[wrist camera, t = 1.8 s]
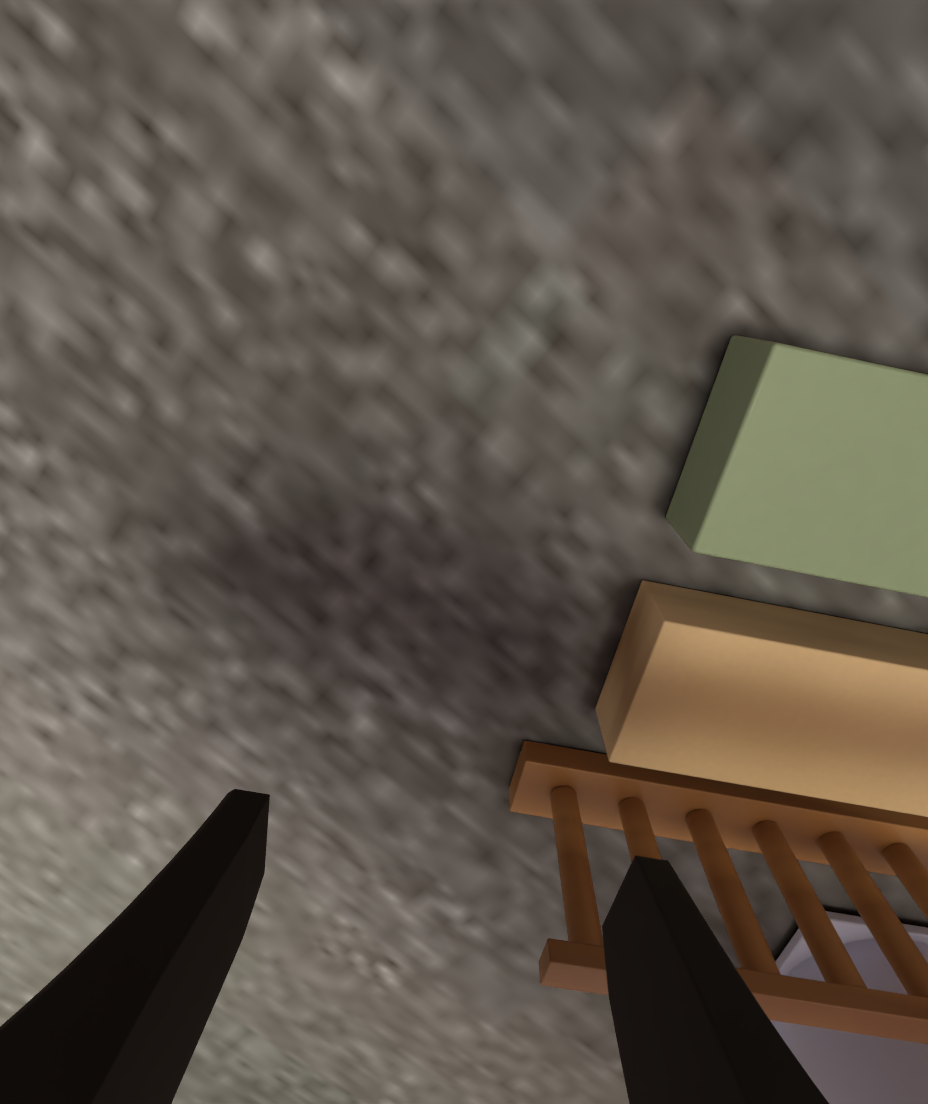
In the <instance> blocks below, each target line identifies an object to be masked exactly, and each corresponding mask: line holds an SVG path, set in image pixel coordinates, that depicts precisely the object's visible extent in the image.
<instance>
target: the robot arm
mask: <svg viewBox="0 0 928 1104" xmlns="http://www.w3.org/2000/svg"><path fill="white" fill-rule="evenodd" d="M269 797H270V795H268V794H262V793H256V792H250V791H244V790H238V789H234V790H232V791H230V792H229V793H228V794H227V795H226V796H225V797H224V799H223V800H222V801H221V803H220V804H219V805H218V806H217V808H216V809H215V810H214V811H213V812H212V814H211V815H210V816H209V817H208V819H207V820H206V821H205V822H204V823H203V825H202V826H201V827H200V828H199V829H198V830H197V832H196V833H195V834H194V835H193V836H192V837H191V839H190V840H189V841H188V842H187V843H186V844H185V845H184V846H183V848H182V849H181V850H180V851H179V852H178V853H177V854H176V855H175V857H174V858H173V859H172V860H171V861H170V862H169V863H168V864H167V865H166V866H165V868H164V869H163V870H162V871H161V872H160V873H159V874H158V875H157V876H156V877H155V878H154V879H153V880H152V881H151V882H150V883H149V885H148V886H147V887H146V888H145V889H144V890H143V891H142V892H141V893H140V894H139V895H138V896H137V897H136V898H135V899H134V900H133V902H132V903H131V904H130V905H129V906H128V907H127V908H126V909H125V910H124V911H123V912H122V913H121V914H120V915H119V916H118V917H117V918H116V919H115V920H114V921H113V922H112V923H111V924H110V925H109V926H108V927H107V928H106V929H105V930H104V931H103V932H102V933H101V934H100V935H99V936H98V937H96V938H95V939H94V940H93V941H92V942H91V943H90V944H89V945H88V946H87V947H86V948H85V949H84V950H83V951H82V952H81V953H80V954H79V955H78V956H77V957H76V958H75V959H74V960H73V961H72V962H71V963H70V964H69V965H68V966H67V967H66V968H65V969H64V970H63V971H61V972H60V973H59V974H58V975H57V976H56V977H55V978H54V979H53V980H52V981H51V982H50V983H48V984H47V985H46V986H45V987H44V988H43V989H42V990H41V991H40V992H39V993H38V994H36V995H35V996H34V997H33V998H32V999H31V1000H30V1001H29V1002H28V1003H27V1004H25V1005H24V1006H23V1007H22V1008H21V1009H20V1010H19V1011H18V1012H16V1013H15V1014H14V1015H13V1016H12V1017H11V1018H10V1019H8V1020H7V1021H6V1022H5V1023H4V1024H3V1025H2V1026H1V1027H0V1104H171V1103H172V1101H173V1098H174V1096H175V1094H176V1091H177V1089H178V1087H179V1085H180V1082H181V1080H182V1078H183V1075H184V1073H185V1071H186V1068H187V1066H188V1064H189V1062H190V1059H191V1057H192V1055H193V1052H194V1050H195V1048H196V1045H197V1043H198V1041H199V1038H200V1036H201V1034H202V1032H203V1029H204V1027H205V1025H206V1022H207V1020H208V1018H209V1015H210V1013H211V1011H212V1009H213V1006H214V1004H215V1002H216V999H217V997H218V995H219V992H220V990H221V988H222V985H223V983H224V981H225V978H226V976H227V974H228V971H229V969H230V967H231V964H232V962H233V960H234V958H235V955H236V953H237V950H238V948H239V946H240V943H241V941H242V939H243V936H244V933H245V930H246V927H247V924H248V921H249V918H250V915H251V912H252V909H253V906H254V903H255V900H256V897H257V894H258V891H259V888H260V885H261V882H262V878H263V875H264V871H265V856H266V842H267V827H268V812H269ZM825 912H826V913H827V915H828V917H829V919H830V921H831V922H832V924H833V926H834V928H835V930H836V932H837V933H838V935H839V937H840V939H841V941H842V943H843V944H844V946H845V948H846V950H847V952H848V953H849V955H850V957H851V959H852V961H853V963H854V964H855V966H856V968H857V970H858V972H859V974H860V975H861V977H862V979H863V981H864V983H865V985H866V986H867V988H868V989H874V990H881V991H887V992H894V993H900V994H906V995H908V994H907V992H906V991H905V989H904V987H903V986H902V984H901V982H900V981H899V979H898V977H897V976H896V974H895V972H894V971H893V969H892V967H891V966H890V964H889V962H888V961H887V959H886V957H885V956H884V954H883V952H882V951H881V949H880V947H879V946H878V944H877V942H876V941H875V939H874V937H873V936H872V934H871V932H870V931H869V929H868V927H867V926H866V924H865V922H864V921H863V919H862V917H859V916H853V915H847V914H841V913H835V912H829V911H825ZM902 925H903V926H904V928H905V929H906V931H907V932H908V934H909V935H910V937H911V939H912V940H913V942H914V943H915V945H916V946H917V948H918V949H919V951H920V952H921V954H922V955H923V957H924V958H925V960H926V961H927V963H928V928H927V927H921V926H914V925H908V924H902ZM602 930H603V942H604V954H605V966H606V976H607V985H608V994H609V1000H610V1005H611V1011H612V1016H613V1021H614V1026H615V1032H616V1037H617V1042H618V1047H619V1053H620V1058H621V1063H622V1068H623V1073H624V1078H625V1083H626V1088H627V1093H628V1098H629V1103H630V1104H928V1044H923V1043H916V1042H909V1041H903V1040H896V1039H890V1038H883V1037H877V1036H870V1035H864V1034H857V1033H851V1032H844V1031H838V1030H831V1029H825V1028H818V1027H812V1026H805V1025H799V1024H792V1023H785V1022H779V1021H772V1020H769V1018H768V1017H767V1015H766V1014H765V1012H764V1011H763V1009H762V1008H761V1006H760V1005H759V1003H758V1002H757V1000H756V999H755V997H754V996H753V994H752V992H751V991H750V989H749V988H748V986H747V985H746V983H745V982H744V980H743V979H742V977H741V976H740V974H739V973H738V971H737V970H736V968H735V967H734V965H733V964H732V962H731V960H730V959H729V957H728V956H727V954H726V953H725V951H724V950H723V948H722V946H721V945H720V943H719V942H718V940H717V938H716V937H715V935H714V934H713V932H712V930H711V929H710V927H709V926H708V924H707V922H706V921H705V919H704V918H703V916H702V914H701V913H700V911H699V910H698V908H697V906H696V905H695V903H694V901H693V900H692V898H691V897H690V895H689V893H688V892H687V890H686V889H685V887H684V885H683V884H682V882H681V881H680V879H679V877H678V876H677V874H676V873H675V871H674V869H673V868H672V866H671V865H670V863H669V862H668V861H667V860H661V859H654V858H648V857H642V856H636V855H635V857H634V859H633V861H632V863H631V865H630V868H629V870H628V872H627V874H626V876H625V878H624V880H623V883H622V885H621V887H620V889H619V891H618V893H617V896H616V898H615V900H614V902H613V904H612V906H611V908H610V911H609V913H608V915H607V917H606V919H605V921H604V924H603V926H602ZM776 964H777V967H778V969H779V971H780V974H781V975H785V976H792V977H798V978H805V979H811V980H817V981H824V982H825V980H824V978H823V976H822V974H821V972H820V970H819V968H818V966H817V964H816V962H815V960H814V958H813V956H812V954H811V952H810V949H809V947H808V945H807V943H806V941H805V939H804V937H803V935H802V933H801V931H800V929H799V928H798V930H797V931H796V933H795V934H794V936H793V937H792V938H791V940H790V941H789V943H788V944H787V946H786V947H785V949H784V950H783V951H782V953H781V954H780V956H779V957H778V959H777V960H776Z"/></svg>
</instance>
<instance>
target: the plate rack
mask: <svg viewBox="0 0 928 1104" xmlns="http://www.w3.org/2000/svg"><path fill="white" fill-rule="evenodd" d="M509 802H510V811H511V812H517V813H523V814H529V815H535V816H541V817H547V818H553V823H554V831H555V839H556V847H557V855H558V862H559V870H560V878H561V886H562V894H563V902H564V909H565V917H566V925H567V933H568V941H563V940H557V939H550V938H549V939H548V940H547V942H546V945H545V947H544V950H543V952H542V955H541V957H540V959H539V971H540V983H541V985H544V986H550V987H557V988H563V989H570V990H577V991H583V992H590V993H596V994H603V995H609V994H608V985H607V976H606V966H605V954H604V943H603V937H602V932H601V926H600V921H599V915H598V910H597V904H596V899H595V893H594V888H593V882H592V876H591V871H590V865H589V860H588V854H587V849H586V843H585V838H584V832H583V827H582V823H583V824H588V825H594V826H600V827H606V828H612V829H618V830H624V833H625V837H626V841H627V845H628V849H629V853H630V857H631V861H633V859H634V857H635V855H636V856H642V857H648V858H654V859H661V856H660V852H659V849H658V846H657V843H656V840H655V836H660V837H666V838H672V839H678V840H684V841H690V842H694V845H695V847H696V850H697V853H698V855H699V858H700V860H701V863H702V866H703V868H704V871H705V874H706V876H707V879H708V882H709V884H710V887H711V890H712V892H713V895H714V898H715V900H716V903H717V905H718V908H719V911H720V913H721V916H722V919H723V921H724V924H725V927H726V929H727V932H728V935H729V937H730V940H731V943H732V945H733V948H734V950H735V953H736V956H737V958H738V961H739V964H740V966H741V968H736V970H737V971H738V973H739V974H740V976H741V977H742V979H743V980H744V982H745V983H746V985H747V986H748V988H749V989H750V991H751V992H752V994H753V996H754V997H755V999H756V1000H757V1002H758V1003H759V1005H760V1006H761V1008H762V1009H763V1011H764V1012H765V1014H766V1015H767V1017H768V1018H769V1020H772V1021H779V1022H785V1023H792V1024H799V1025H805V1026H812V1027H818V1028H825V1029H831V1030H838V1031H844V1032H851V1033H857V1034H864V1035H870V1036H877V1037H883V1038H890V1039H896V1040H903V1041H909V1042H916V1043H923V1044H928V963H927V961H926V960H925V958H924V957H923V955H922V954H921V952H920V951H919V949H918V948H917V946H916V945H915V943H914V942H913V940H912V939H911V937H910V935H909V934H908V932H907V931H906V929H905V928H904V926H903V925H902V923H901V922H900V920H899V919H898V917H897V916H896V914H895V913H894V911H893V910H892V908H891V907H890V905H889V904H888V902H887V901H886V899H885V897H884V896H883V894H882V893H881V891H880V890H879V888H878V887H877V885H876V884H875V882H874V881H873V879H872V878H871V876H870V875H869V873H868V872H867V871H869V872H875V873H881V874H887V875H893V876H897V877H898V878H899V880H900V881H901V883H902V884H903V885H904V887H905V888H906V890H907V891H908V893H909V894H910V895H911V897H912V898H913V900H914V901H915V902H916V904H917V905H918V907H919V908H920V910H921V911H922V912H923V914H924V915H925V917H926V918H927V920H928V817H925V816H919V815H913V814H907V813H902V812H896V811H890V810H884V809H879V808H873V807H867V806H861V805H855V804H850V803H844V802H838V801H832V800H827V799H821V798H815V797H809V796H804V795H798V794H792V793H786V792H780V791H775V790H769V789H763V788H757V787H752V786H746V785H740V784H734V783H729V782H723V781H717V780H711V779H706V778H700V777H694V776H688V775H682V774H677V773H671V772H665V771H659V770H654V769H648V768H642V767H636V766H631V765H625V764H619V763H613V762H610V761H609V760H608V756H607V755H606V754H600V753H594V752H589V751H583V750H577V749H571V748H566V747H560V746H554V745H548V744H543V743H537V742H531V741H524V742H523V745H522V748H521V752H520V755H519V758H518V761H517V765H516V768H515V771H514V774H513V778H512V781H511V784H510V787H509ZM726 848H732V849H738V850H744V851H750V852H755V853H761V854H763V856H764V858H765V860H766V862H767V864H768V866H769V868H770V870H771V872H772V874H773V876H774V878H775V880H776V882H777V884H778V886H779V889H780V891H781V893H782V895H783V897H784V899H785V901H786V903H787V905H788V907H789V909H790V911H791V913H792V915H793V917H794V919H795V921H796V923H797V925H798V927H799V929H800V931H801V933H802V935H803V937H804V939H805V941H806V943H807V945H808V947H809V949H810V952H811V954H812V956H813V958H814V960H815V962H816V964H817V966H818V968H819V970H820V972H821V974H822V976H823V978H824V980H825V982H824V981H817V980H811V979H805V978H798V977H792V976H785V975H781V974H780V971H779V969H778V967H777V964H776V962H775V960H774V958H773V955H772V953H771V951H770V948H769V946H768V944H767V941H766V939H765V937H764V934H763V932H762V930H761V927H760V925H759V923H758V921H757V918H756V916H755V914H754V911H753V909H752V907H751V904H750V902H749V900H748V897H747V895H746V893H745V890H744V888H743V886H742V884H741V881H740V879H739V877H738V874H737V872H736V870H735V867H734V865H733V863H732V860H731V858H730V856H729V853H728V851H727V849H726ZM661 860H662V859H661ZM798 860H803V861H809V862H815V863H821V864H827V865H830V866H831V867H832V869H833V871H834V872H835V874H836V876H837V877H838V879H839V881H840V882H841V884H842V886H843V887H844V889H845V891H846V892H847V894H848V896H849V897H850V899H851V901H852V902H853V904H854V906H855V907H856V909H857V911H858V912H859V914H860V916H861V917H862V919H863V921H864V922H865V924H866V926H867V927H868V929H869V931H870V932H871V934H872V936H873V937H874V939H875V941H876V942H877V944H878V946H879V947H880V949H881V951H882V952H883V954H884V956H885V957H886V959H887V961H888V962H889V964H890V966H891V967H892V969H893V971H894V972H895V974H896V976H897V977H898V979H899V981H900V982H901V984H902V986H903V987H904V989H905V991H906V992H907V994H908V995H906V994H900V993H894V992H887V991H881V990H874V989H868V988H867V986H866V985H865V983H864V981H863V979H862V977H861V975H860V974H859V972H858V970H857V968H856V966H855V964H854V963H853V961H852V959H851V957H850V955H849V953H848V952H847V950H846V948H845V946H844V944H843V943H842V941H841V939H840V937H839V935H838V933H837V932H836V930H835V928H834V926H833V924H832V922H831V921H830V919H829V917H828V915H827V913H826V912H825V910H824V908H823V906H822V904H821V902H820V901H819V899H818V897H817V895H816V893H815V891H814V890H813V888H812V886H811V884H810V882H809V881H808V879H807V877H806V875H805V873H804V871H803V870H802V868H801V866H800V864H799V862H798Z"/></svg>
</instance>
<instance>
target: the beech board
mask: <svg viewBox="0 0 928 1104" xmlns="http://www.w3.org/2000/svg"><path fill="white" fill-rule="evenodd" d="M595 710H596V714H597V718H598V722H599V725H600V729H601V733H602V737H603V741H604V745H605V748H606V752H607V756H608V760H609V761H610V762H613V763H619V764H625V765H631V766H636V767H642V768H648V769H654V770H659V771H665V772H671V773H677V774H682V775H688V776H694V777H700V778H706V779H711V780H717V781H723V782H729V783H734V784H740V785H746V786H752V787H757V788H763V789H769V790H775V791H780V792H786V793H792V794H798V795H804V796H809V797H815V798H821V799H827V800H832V801H838V802H844V803H850V804H855V805H861V806H867V807H873V808H879V809H884V810H890V811H896V812H902V813H907V814H913V815H919V816H925V817H928V634H924V633H918V632H913V631H908V630H902V629H897V628H892V627H887V626H881V625H876V624H871V623H866V622H860V621H855V620H850V619H844V618H839V617H834V616H829V615H823V614H818V613H813V612H808V611H802V610H797V609H792V608H786V607H781V606H776V605H771V604H765V603H760V602H755V601H750V600H744V599H739V598H734V597H728V596H723V595H718V594H713V593H707V592H702V591H697V590H692V589H686V588H681V587H676V586H670V585H665V584H660V583H655V582H649V581H644V580H643V581H642V582H641V585H640V587H639V590H638V593H637V596H636V598H635V601H634V604H633V607H632V609H631V612H630V615H629V618H628V620H627V623H626V626H625V629H624V631H623V634H622V637H621V640H620V642H619V645H618V648H617V651H616V653H615V656H614V659H613V662H612V664H611V667H610V670H609V672H608V675H607V678H606V681H605V683H604V686H603V689H602V692H601V694H600V697H599V700H598V703H597V705H596V708H595Z"/></svg>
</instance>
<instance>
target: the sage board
mask: <svg viewBox="0 0 928 1104" xmlns="http://www.w3.org/2000/svg"><path fill="white" fill-rule="evenodd" d="M666 519H667V520H668V522H669V523H670V524H671V525H672V527H673V528H674V529H675V530H676V532H677V533H678V534H679V535H680V537H681V538H682V539H683V540H684V542H685V543H686V544H687V546H688V547H689V548H690V549H691V551H693V552H695V553H700V554H706V555H711V556H716V557H721V558H726V559H732V560H737V561H742V562H747V563H752V564H758V565H763V566H768V567H773V568H778V569H783V570H789V571H794V572H799V573H804V574H809V575H815V576H820V577H825V578H830V579H835V580H840V581H846V582H851V583H856V584H861V585H866V586H872V587H877V588H882V589H887V590H892V591H897V592H903V593H908V594H913V595H918V596H923V597H928V375H927V374H923V373H918V372H913V371H909V370H904V369H899V368H895V367H890V366H885V365H880V364H876V363H871V362H866V361H862V360H857V359H852V358H848V357H843V356H838V355H833V354H829V353H824V352H819V351H815V350H810V349H805V348H800V347H796V346H791V345H786V344H782V343H777V342H771V341H766V340H760V339H754V338H749V337H743V336H737V335H735V336H732V337H731V339H730V342H729V345H728V347H727V350H726V353H725V356H724V358H723V361H722V364H721V367H720V369H719V372H718V375H717V378H716V380H715V383H714V386H713V389H712V391H711V394H710V397H709V399H708V402H707V405H706V408H705V410H704V413H703V416H702V419H701V421H700V424H699V427H698V430H697V432H696V435H695V438H694V441H693V443H692V446H691V449H690V452H689V454H688V457H687V460H686V463H685V465H684V468H683V471H682V474H681V476H680V479H679V482H678V484H677V487H676V490H675V493H674V495H673V498H672V501H671V504H670V506H669V509H668V512H667V515H666Z"/></svg>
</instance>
